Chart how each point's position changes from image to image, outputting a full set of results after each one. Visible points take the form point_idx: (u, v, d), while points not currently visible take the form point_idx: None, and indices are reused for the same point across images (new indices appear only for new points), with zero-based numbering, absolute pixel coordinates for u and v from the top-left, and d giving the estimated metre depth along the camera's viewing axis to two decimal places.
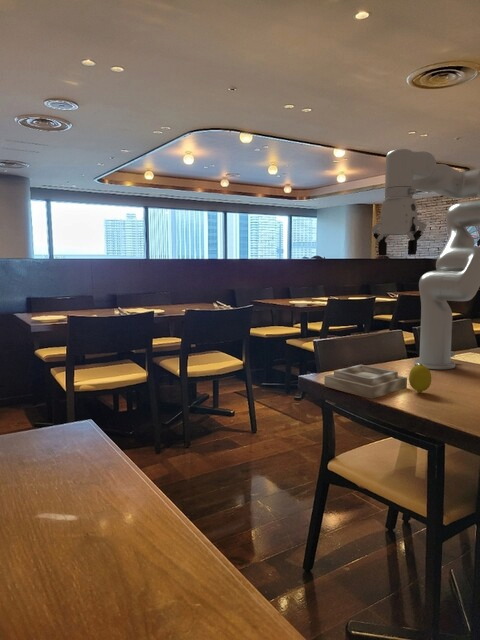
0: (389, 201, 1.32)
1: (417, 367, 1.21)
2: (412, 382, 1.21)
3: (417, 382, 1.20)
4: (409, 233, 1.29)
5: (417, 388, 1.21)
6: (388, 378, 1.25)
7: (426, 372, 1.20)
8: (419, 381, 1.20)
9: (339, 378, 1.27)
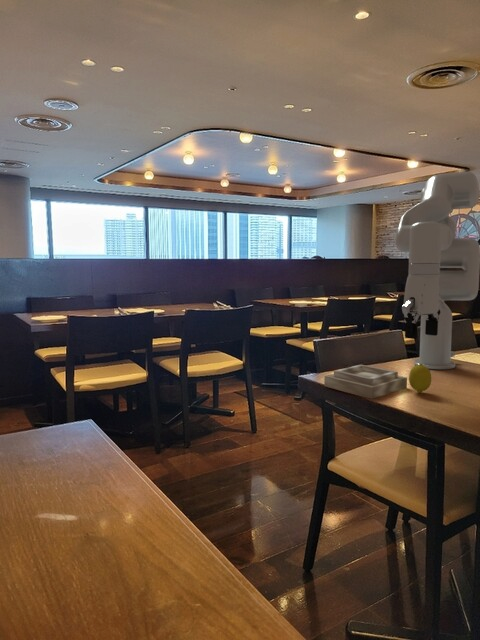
0: (430, 278, 1.16)
1: (417, 367, 1.21)
2: (412, 382, 1.21)
3: (417, 382, 1.20)
4: (436, 313, 1.21)
5: (417, 388, 1.21)
6: (388, 378, 1.25)
7: (426, 372, 1.20)
8: (419, 381, 1.20)
9: (339, 378, 1.27)
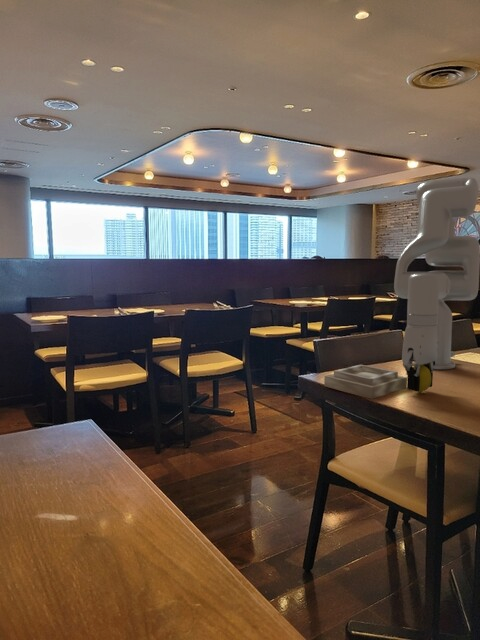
0: (428, 329, 1.18)
1: None
2: None
3: None
4: (432, 364, 1.23)
5: None
6: (388, 378, 1.25)
7: (426, 372, 1.20)
8: None
9: (339, 378, 1.27)
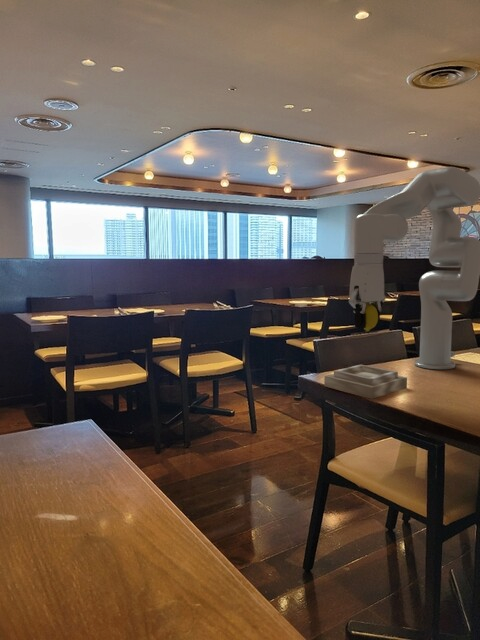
0: (373, 267, 1.22)
1: None
2: None
3: None
4: (379, 303, 1.27)
5: None
6: (388, 378, 1.25)
7: (372, 310, 1.24)
8: None
9: (339, 378, 1.27)
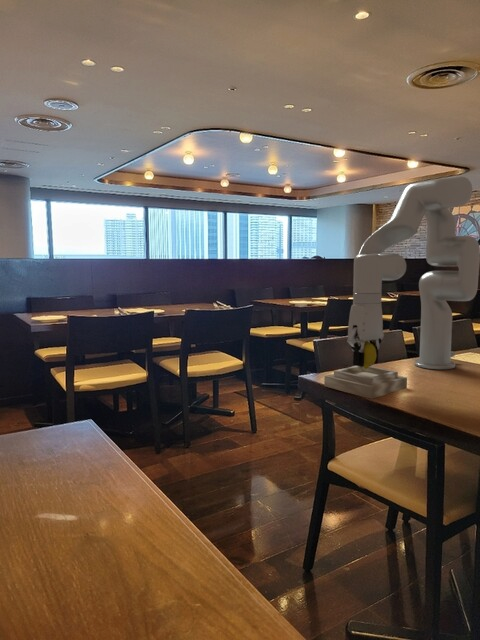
0: (371, 307, 1.23)
1: None
2: None
3: None
4: (377, 341, 1.28)
5: None
6: (388, 378, 1.25)
7: (370, 349, 1.25)
8: (364, 357, 1.25)
9: (339, 378, 1.27)
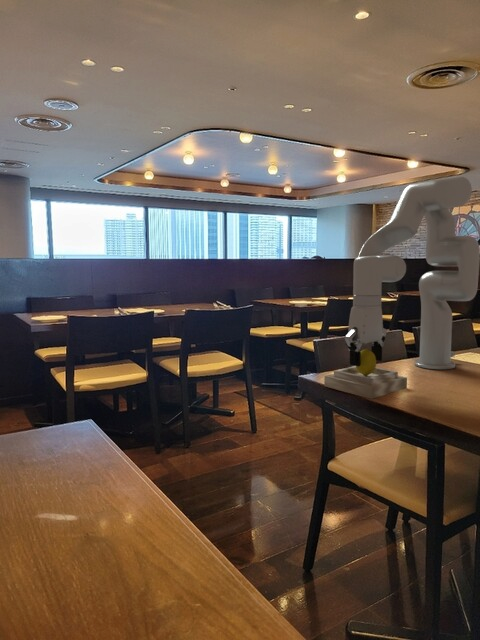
0: (371, 309, 1.24)
1: (362, 352, 1.27)
2: (358, 366, 1.27)
3: (362, 366, 1.26)
4: (380, 340, 1.29)
5: (362, 372, 1.27)
6: (388, 378, 1.25)
7: (370, 357, 1.26)
8: (364, 365, 1.26)
9: (339, 378, 1.27)
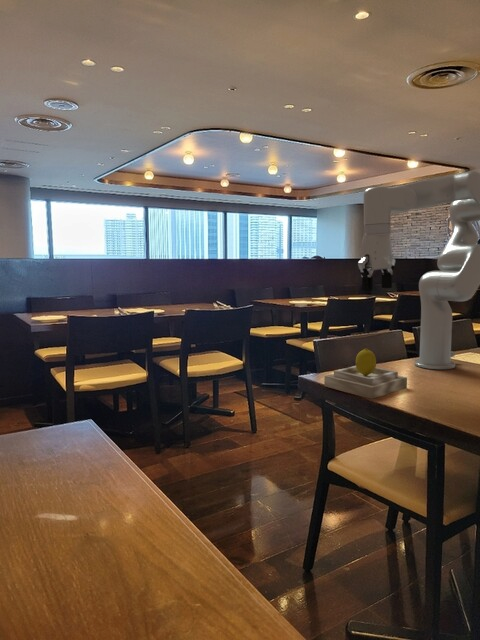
0: (381, 236, 1.32)
1: (362, 352, 1.27)
2: (358, 366, 1.27)
3: (361, 366, 1.26)
4: (390, 268, 1.38)
5: (362, 372, 1.27)
6: (388, 378, 1.25)
7: (370, 357, 1.26)
8: (364, 365, 1.26)
9: (339, 378, 1.27)
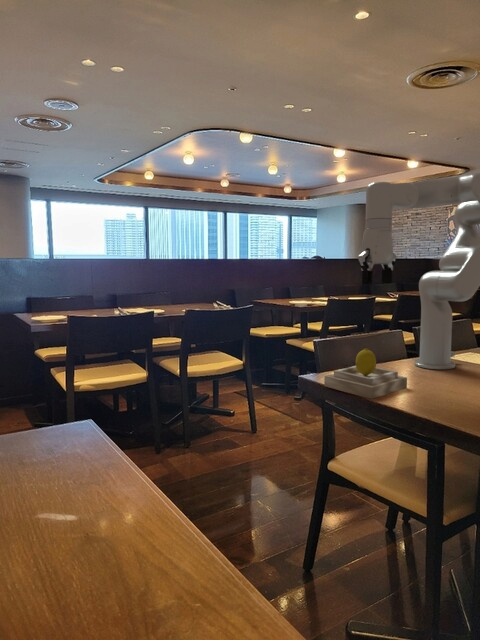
0: (383, 231, 1.33)
1: (362, 352, 1.27)
2: (358, 366, 1.27)
3: (361, 366, 1.26)
4: (390, 263, 1.39)
5: (362, 372, 1.27)
6: (388, 378, 1.25)
7: (370, 357, 1.26)
8: (364, 365, 1.26)
9: (339, 378, 1.27)
